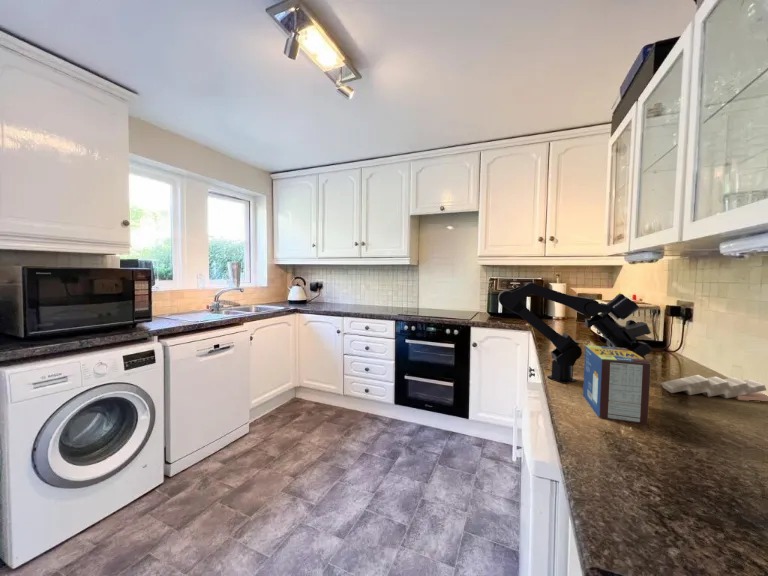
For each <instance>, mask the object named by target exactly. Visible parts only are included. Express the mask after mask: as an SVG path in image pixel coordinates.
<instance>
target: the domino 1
mask: <svg viewBox="0 0 768 576" xmlns="http://www.w3.org/2000/svg"><path fill="white" fill-rule="evenodd" d="M706 378H707V377H706ZM706 378H705V377H704V376H702V375H700V374H696V375H691V376H685V377H681V378H676V379H671V380H667V381H663V382H661V385H662V389H665V390H666V391H668V392H669V393H671V394H674V393H679V392H684V391H685V390H690V389H694V388H699V387H704V386H709V385H711V384H710V382H709V380H708V379H706Z"/></svg>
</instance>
